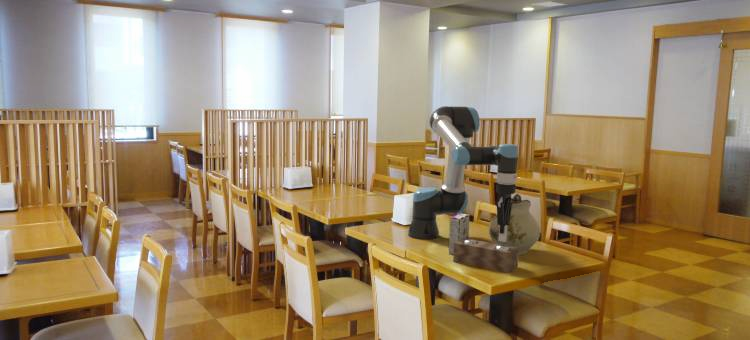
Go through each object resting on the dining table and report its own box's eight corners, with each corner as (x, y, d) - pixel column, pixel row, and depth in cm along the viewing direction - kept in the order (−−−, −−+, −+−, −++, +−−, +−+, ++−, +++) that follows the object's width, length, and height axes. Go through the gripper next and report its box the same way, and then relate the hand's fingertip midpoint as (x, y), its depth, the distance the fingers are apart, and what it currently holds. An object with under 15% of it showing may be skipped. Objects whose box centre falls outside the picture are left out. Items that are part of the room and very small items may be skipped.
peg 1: (461, 258, 238) (462, 241, 237) (466, 256, 242) (467, 238, 241) (472, 260, 235) (473, 243, 234) (477, 258, 239) (478, 240, 238)
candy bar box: (458, 248, 259) (459, 213, 257) (468, 250, 256) (470, 214, 254) (447, 253, 249) (449, 217, 247) (458, 255, 247) (460, 218, 244)
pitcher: (506, 259, 242) (510, 201, 239) (476, 246, 264) (479, 192, 261) (549, 256, 251) (553, 200, 248) (516, 243, 272) (520, 191, 270)
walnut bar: (453, 261, 237) (454, 242, 236) (463, 256, 246) (464, 238, 245) (508, 272, 224) (509, 252, 223) (517, 266, 232) (518, 247, 231)
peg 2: (493, 264, 230) (494, 246, 229) (497, 262, 234) (499, 244, 233) (505, 267, 227) (506, 248, 227) (509, 264, 232) (510, 246, 231)
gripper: (509, 186, 219) (505, 245, 223) (521, 182, 230) (517, 239, 233) (490, 183, 223) (487, 242, 227) (503, 180, 234) (499, 236, 237)
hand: (502, 240), depth 230 cm, fingers closed
